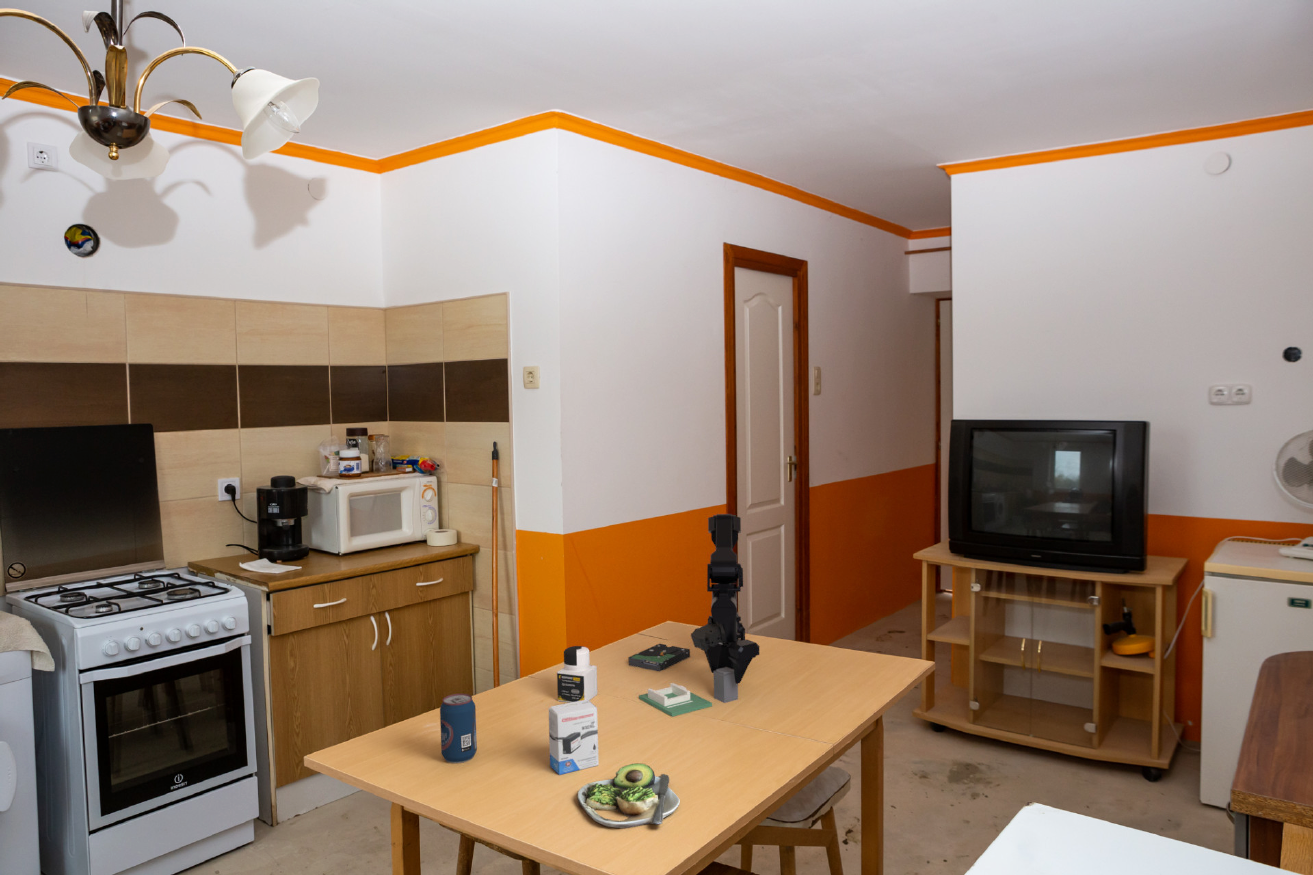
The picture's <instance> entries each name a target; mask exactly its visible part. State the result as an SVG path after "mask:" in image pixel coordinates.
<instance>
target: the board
mask: <svg viewBox="0 0 1313 875" xmlns="http://www.w3.org/2000/svg"><path fill="white" fill-rule="evenodd" d="M669 685H670V686H669V687H665V688H660V689H657V690H655V689H653V688H648V689H647V693H643V694H639V695H638V699H639V700H640V701H642V702H644V703H646V704H648V705H649V706H652V707H653V708H655V709H658V710H660V712H662V713H664V714H666V715H668V716H670V717H672V718H673V717H677V716H680V715H681V716H682V715H685V714H688V713H692V712H695V711H700V710H702V709H706V708H710V707H713V702H711V701H710V700H707V699H705V698H703V697H701V696H700V695H697V694H696V693H693V692H691V691H690V690H688V689H687V687H685V686H683V685H679V684H676V683H674V682H672V683H671V682H670V683H669Z"/></svg>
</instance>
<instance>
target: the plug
mask: <svg viewBox="0 0 1313 875" xmlns="http://www.w3.org/2000/svg"><path fill="white" fill-rule="evenodd" d="M713 698H714V700H717V701H718V702H721V703H723V704H726V703H730V702H734V701H738V700H739V684H736V683H735V677H734V670H733V669H730V668H728V667H725V668H720V669H716V670H715V671H714V673H713Z"/></svg>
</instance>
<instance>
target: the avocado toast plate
mask: <svg viewBox="0 0 1313 875" xmlns="http://www.w3.org/2000/svg"><path fill="white" fill-rule="evenodd" d="M669 784H670V776H669V775H668V774H665V773H661V774H660V775H659V776H656V775H655V771H654V770H653V768H652V767H651V766H650V765H648V764H645V763H638V762H636V763H630V764H626V765H624V766H622V767H620V768H619V769H618V771H616V772H615V776H614V777H613V778H611V779H609V778H608V779H604V780H598V781H597V780H596V781H592V782H589V783H587V784H584V785H583V786H582V787H580V789H579V790H578V791H577V801H578V804H579V806H580V807H581V808H582V809H583V810H584V811H585V812H586V814H587V815H588V816H589V817H590V818H591V819H593V821H594V822H596V823H598V824H600V825H602V826H605V827H609V828H616V829H630V828H631V829H632V828H635V827H640V826H644V825H651V824H653V825H657V826H658V825H662V824H663V821H664V818H666V817H668V816H669V815H671V814H673V813H674V812H675V811H676V810H677V809H678V807H679V806H680V802H681V801H680V798H679V796H678V795H677V794H676V793H675V792H674V791H673V790H672V789H671V788H670V787H669ZM597 811H607V812H608V811H616V812H619V813H622V814H623V816H625V817H627V818H625V819H622V820H614V819H609V818H606V817H603V816H601V815H600V814H599V813H597Z"/></svg>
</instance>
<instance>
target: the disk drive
mask: <svg viewBox="0 0 1313 875" xmlns="http://www.w3.org/2000/svg"><path fill="white" fill-rule="evenodd" d="M690 657H691V649H690V648H687V647H686V648H685V647H680V646H676V645H675V646H674V645H672V646H668V645H667V644H663V643H658V644H656V645H654V646H651V647H649V648H647V649H644V650H642V651H640V652H637V653H635V654H633V655H630V656H628V666H629V667H635V668H638V669H639V668H640V669H645V670H650V671H653V672H654V671H655V672H662V671H664V670H666V669H668V668H670V667H672V666H674V665H676V664H678V663H680V662H682V661H684V660H687V659H688V658H690Z"/></svg>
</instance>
